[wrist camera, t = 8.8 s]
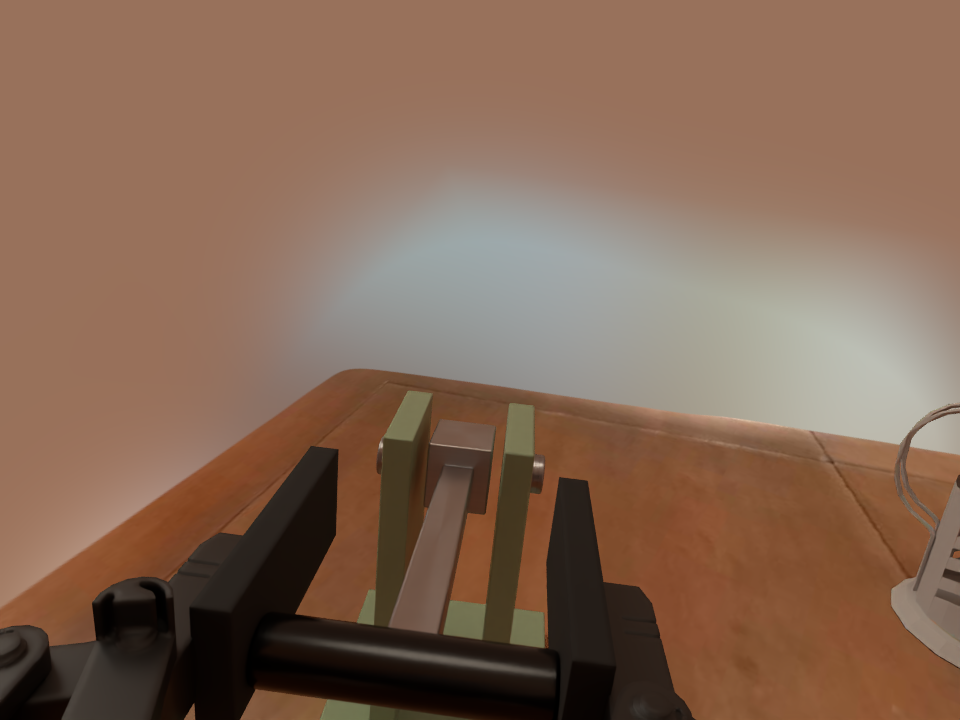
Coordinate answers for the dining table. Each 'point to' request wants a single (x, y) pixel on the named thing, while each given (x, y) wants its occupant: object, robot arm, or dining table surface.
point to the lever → (416, 621)
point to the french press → (932, 566)
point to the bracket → (402, 525)
